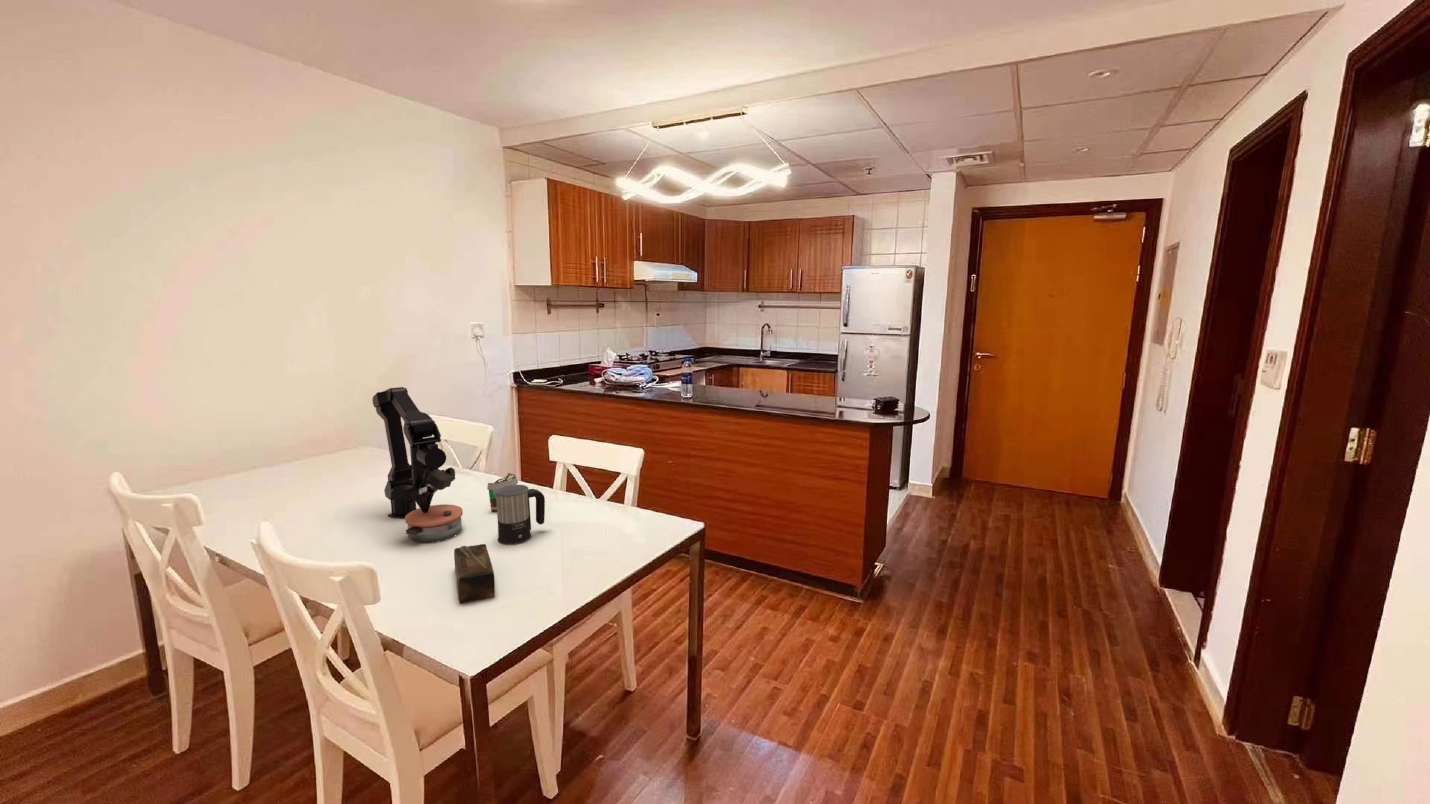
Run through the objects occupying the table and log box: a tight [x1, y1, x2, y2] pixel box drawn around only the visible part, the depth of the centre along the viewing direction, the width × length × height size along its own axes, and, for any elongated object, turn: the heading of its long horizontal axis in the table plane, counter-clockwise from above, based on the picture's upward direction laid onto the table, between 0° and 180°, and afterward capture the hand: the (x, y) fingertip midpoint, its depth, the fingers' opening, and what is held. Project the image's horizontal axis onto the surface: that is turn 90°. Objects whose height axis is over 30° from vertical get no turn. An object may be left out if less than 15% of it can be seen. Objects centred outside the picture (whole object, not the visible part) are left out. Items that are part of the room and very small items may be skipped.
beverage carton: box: [453, 543, 496, 604], centre depth 137 cm, size 8×19×7 cm, turn 27°
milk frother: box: [495, 484, 546, 545], centre depth 165 cm, size 14×16×15 cm
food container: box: [486, 472, 519, 513], centre depth 186 cm, size 12×6×10 cm, turn 168°
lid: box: [404, 504, 464, 527], centre depth 165 cm, size 15×15×2 cm
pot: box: [405, 516, 463, 544], centre depth 165 cm, size 14×19×5 cm
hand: (425, 512), depth 165 cm, fingers closed, pressing on lid
